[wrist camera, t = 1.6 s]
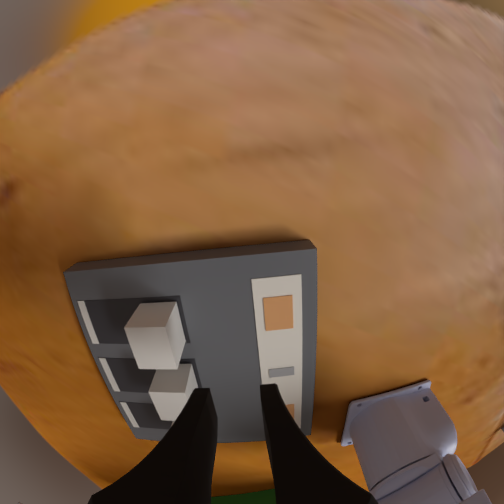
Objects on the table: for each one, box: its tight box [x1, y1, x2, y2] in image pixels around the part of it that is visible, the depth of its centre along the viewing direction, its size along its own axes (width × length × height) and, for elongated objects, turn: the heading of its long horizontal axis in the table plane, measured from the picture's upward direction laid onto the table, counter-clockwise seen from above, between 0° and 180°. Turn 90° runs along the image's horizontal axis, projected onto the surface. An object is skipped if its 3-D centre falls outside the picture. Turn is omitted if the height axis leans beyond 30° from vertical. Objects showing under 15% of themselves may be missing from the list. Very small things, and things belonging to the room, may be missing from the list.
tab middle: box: [148, 364, 198, 421], centre depth 18 cm, size 2×3×3 cm
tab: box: [124, 302, 186, 369], centre depth 16 cm, size 2×3×3 cm
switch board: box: [63, 240, 317, 443], centre depth 20 cm, size 17×18×2 cm
